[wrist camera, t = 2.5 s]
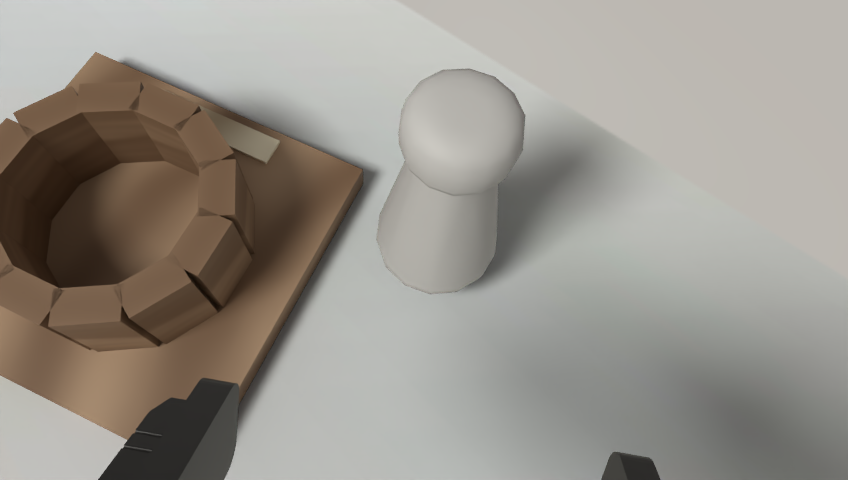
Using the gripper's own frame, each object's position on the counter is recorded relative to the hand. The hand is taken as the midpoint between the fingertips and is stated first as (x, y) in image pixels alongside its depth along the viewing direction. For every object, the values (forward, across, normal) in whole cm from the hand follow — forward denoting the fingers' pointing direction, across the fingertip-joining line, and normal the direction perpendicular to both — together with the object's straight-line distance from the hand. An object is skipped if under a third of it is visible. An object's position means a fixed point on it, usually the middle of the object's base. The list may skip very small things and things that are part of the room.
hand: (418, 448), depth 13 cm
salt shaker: (+19, 0, +4) cm, 19 cm away
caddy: (+17, +14, +5) cm, 23 cm away
